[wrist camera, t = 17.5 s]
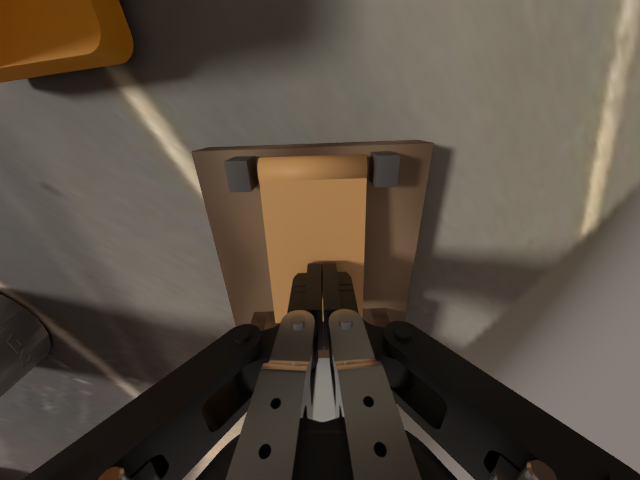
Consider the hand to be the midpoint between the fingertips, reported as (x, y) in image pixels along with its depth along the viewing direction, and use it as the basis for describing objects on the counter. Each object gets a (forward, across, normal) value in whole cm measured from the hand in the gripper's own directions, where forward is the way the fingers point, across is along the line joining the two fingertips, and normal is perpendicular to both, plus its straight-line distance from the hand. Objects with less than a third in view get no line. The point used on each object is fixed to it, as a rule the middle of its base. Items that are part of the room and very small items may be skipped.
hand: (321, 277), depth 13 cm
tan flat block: (+1, 0, -1) cm, 2 cm away
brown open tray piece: (+4, 0, +4) cm, 6 cm away
